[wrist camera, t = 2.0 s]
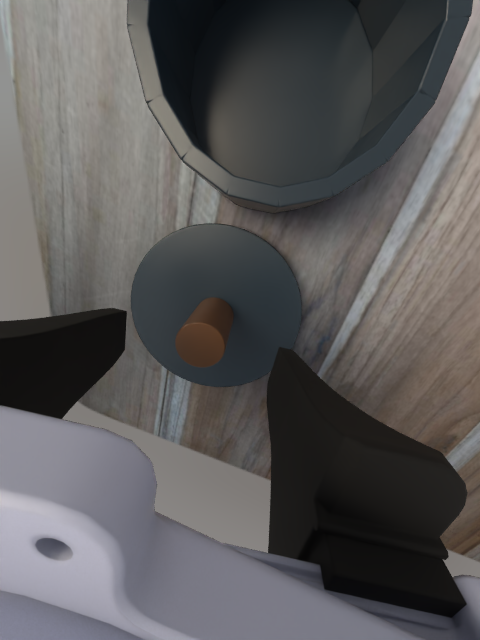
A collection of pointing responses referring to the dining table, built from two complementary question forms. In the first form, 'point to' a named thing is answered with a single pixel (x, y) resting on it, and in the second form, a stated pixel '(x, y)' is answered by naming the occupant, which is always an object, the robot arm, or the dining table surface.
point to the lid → (215, 304)
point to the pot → (291, 87)
